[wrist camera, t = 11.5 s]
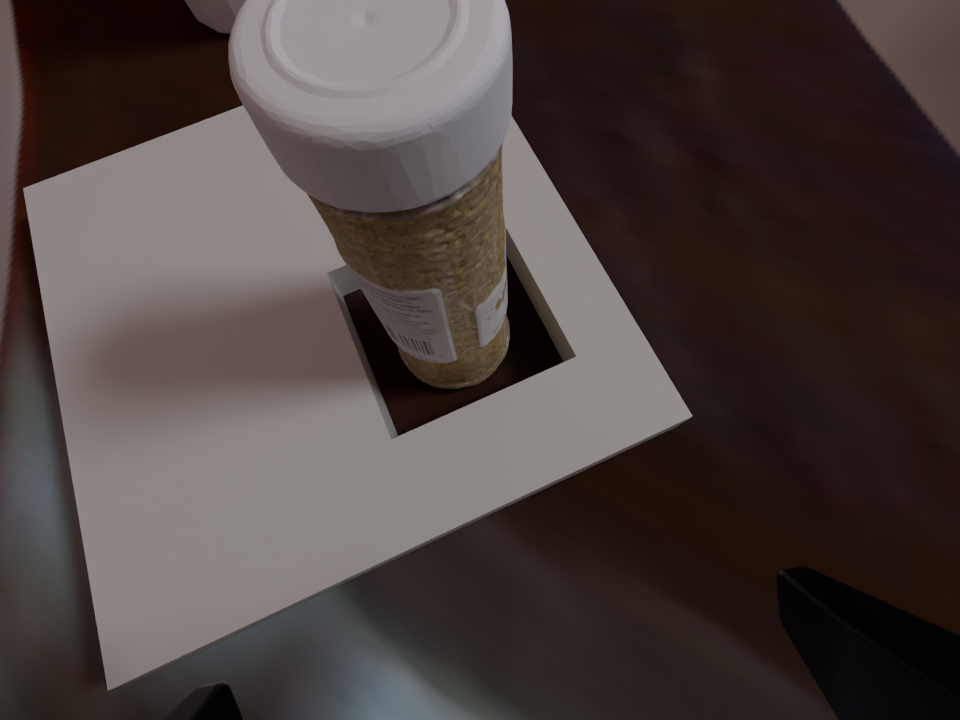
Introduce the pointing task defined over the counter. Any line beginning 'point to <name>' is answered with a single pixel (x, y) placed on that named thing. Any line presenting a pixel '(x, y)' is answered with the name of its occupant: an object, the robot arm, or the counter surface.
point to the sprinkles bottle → (396, 157)
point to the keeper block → (287, 389)
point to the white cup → (216, 13)
